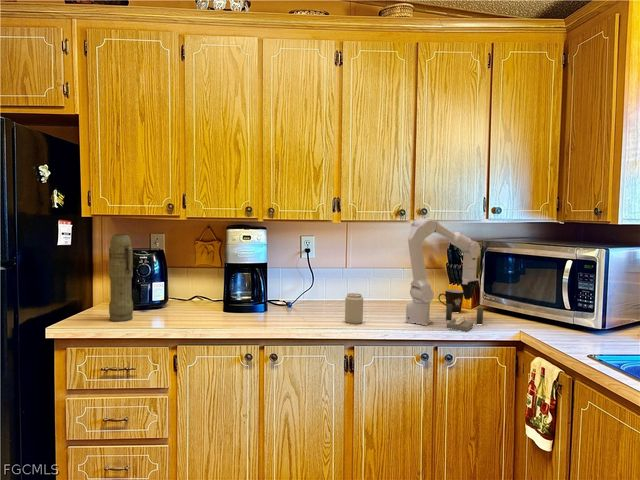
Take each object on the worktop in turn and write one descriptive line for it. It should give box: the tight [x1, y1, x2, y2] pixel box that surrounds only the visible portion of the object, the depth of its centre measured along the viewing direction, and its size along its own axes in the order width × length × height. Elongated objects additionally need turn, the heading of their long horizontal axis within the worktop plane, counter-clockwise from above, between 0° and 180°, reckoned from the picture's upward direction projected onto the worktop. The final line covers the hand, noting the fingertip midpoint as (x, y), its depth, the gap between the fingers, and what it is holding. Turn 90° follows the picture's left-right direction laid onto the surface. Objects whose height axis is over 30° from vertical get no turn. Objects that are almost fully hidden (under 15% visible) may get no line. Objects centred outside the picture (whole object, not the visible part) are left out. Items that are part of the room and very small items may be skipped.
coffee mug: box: [438, 288, 464, 312], centre depth 209 cm, size 12×9×10 cm
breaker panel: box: [446, 318, 474, 333], centre depth 180 cm, size 8×10×2 cm
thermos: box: [108, 233, 134, 323], centre depth 180 cm, size 9×12×35 cm
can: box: [344, 292, 364, 325], centre depth 184 cm, size 8×8×12 cm
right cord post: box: [476, 307, 484, 325], centre depth 185 cm, size 2×2×7 cm
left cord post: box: [445, 304, 453, 321], centre depth 192 cm, size 2×2×7 cm
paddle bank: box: [455, 315, 466, 325], centre depth 179 cm, size 2×9×2 cm, turn 147°
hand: (468, 298), depth 193 cm, fingers open, 3 cm apart
